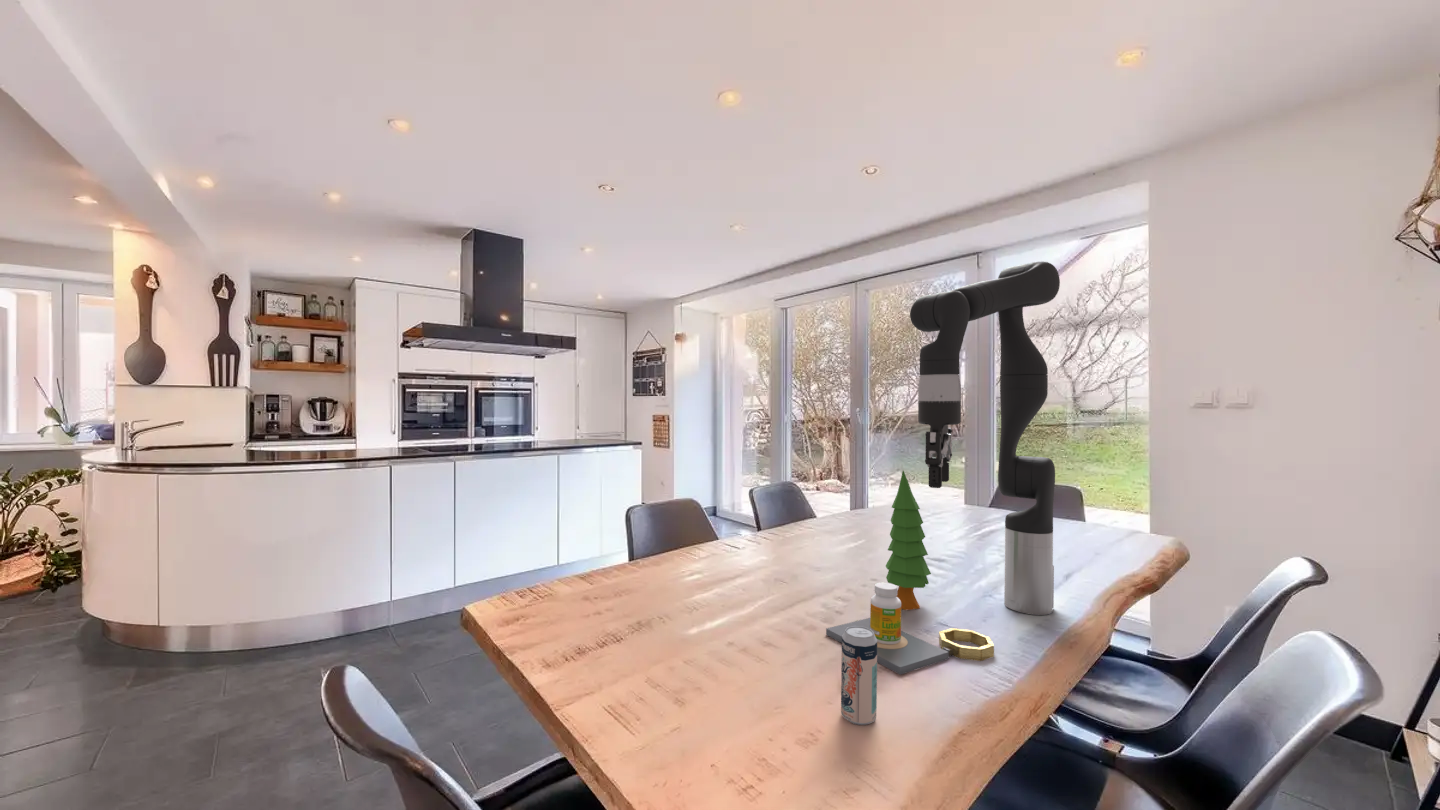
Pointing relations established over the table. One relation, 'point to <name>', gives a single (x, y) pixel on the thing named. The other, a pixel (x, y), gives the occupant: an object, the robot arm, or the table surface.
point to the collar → (966, 651)
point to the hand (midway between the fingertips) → (939, 484)
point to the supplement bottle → (886, 614)
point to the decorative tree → (907, 547)
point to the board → (898, 650)
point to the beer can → (859, 675)
